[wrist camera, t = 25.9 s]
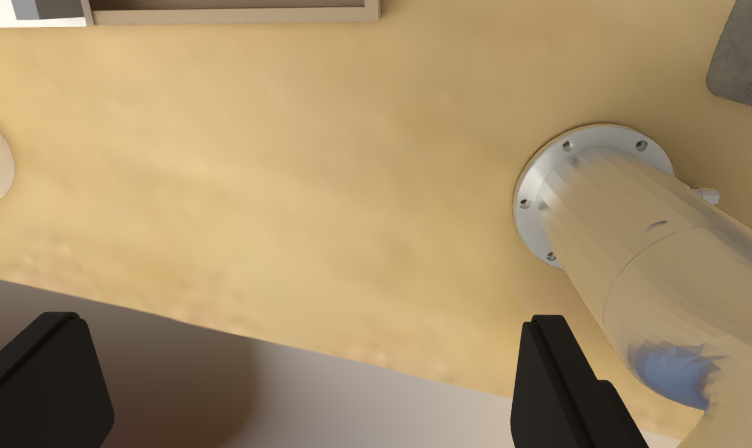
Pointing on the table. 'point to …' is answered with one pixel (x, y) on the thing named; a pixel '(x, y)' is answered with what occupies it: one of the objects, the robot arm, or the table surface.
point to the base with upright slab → (5, 167)
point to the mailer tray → (232, 11)
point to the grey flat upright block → (734, 57)
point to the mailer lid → (45, 13)
